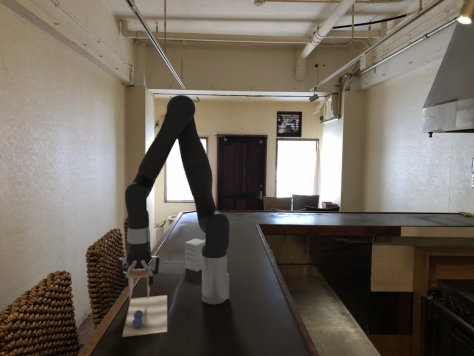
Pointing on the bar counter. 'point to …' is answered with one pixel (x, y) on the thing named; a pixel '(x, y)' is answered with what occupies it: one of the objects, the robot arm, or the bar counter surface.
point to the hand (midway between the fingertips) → (139, 286)
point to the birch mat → (147, 316)
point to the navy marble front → (137, 322)
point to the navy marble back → (138, 314)
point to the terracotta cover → (138, 274)
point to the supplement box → (194, 254)
